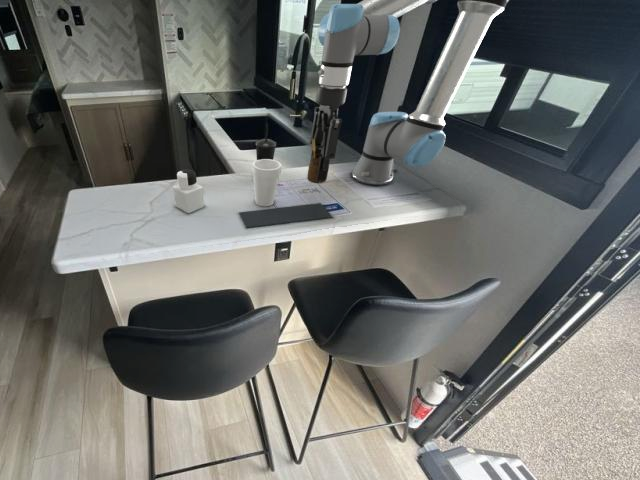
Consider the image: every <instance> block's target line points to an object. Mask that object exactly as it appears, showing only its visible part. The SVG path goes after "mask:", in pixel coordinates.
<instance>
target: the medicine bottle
mask: <svg viewBox="0 0 640 480" xmlns="http://www.w3.org/2000/svg"><path fill="white" fill-rule="evenodd" d="M176 178H177V179H176V180H177V184H176V185H174V186H173V187H172V190H173V195H174V196H173V197H174V203H175V207H176V208H178V209H179V210H181V211H183V212H185V213H187V214H191V213H193V212H195V211H197V210H200V209H202V208H205V197H204V187H203V186H201V185H200V184H198V181H197V172H196V171H195V170H194V169H193V170H192V169H185V168H184V169H181V170H179V171H178V172H177V173H176Z"/></svg>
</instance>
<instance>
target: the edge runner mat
mask: <svg viewBox="0 0 640 480" xmlns="http://www.w3.org/2000/svg"><path fill="white" fill-rule="evenodd" d="M238 214H239V216H240V218H241V220H242V222H243V225H244V226H245V229H250V228H251V229H252V228H260V227H268V226H269V227H270V226H276V225H284V224H293V223H299V222H309V221H316V220H324V219H332V218H333V216H332V214H331V213H330V212H329V211H328V210H327V209H326V208H325V207H324V206H323V204H322V203H321V202H318V203H310V204H300V205H292V206H283V207H282V206H281V207H275V208H266V209H257V210H248V211H240V212H238Z"/></svg>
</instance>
